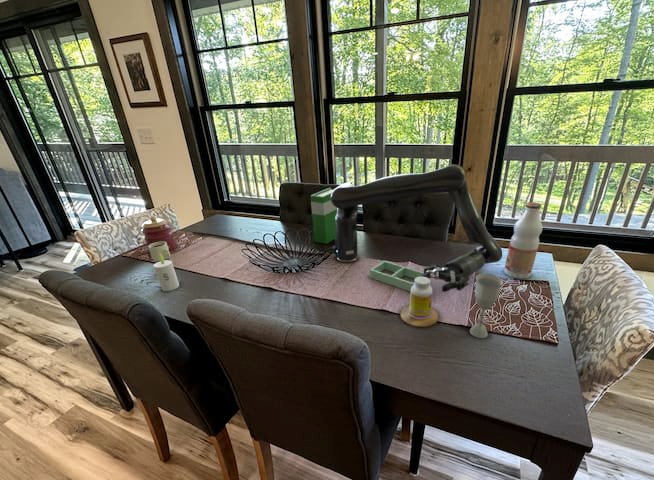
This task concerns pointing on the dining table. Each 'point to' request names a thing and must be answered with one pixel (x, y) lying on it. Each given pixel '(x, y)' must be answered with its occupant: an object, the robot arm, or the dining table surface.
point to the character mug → (157, 248)
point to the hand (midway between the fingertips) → (431, 283)
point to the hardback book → (323, 216)
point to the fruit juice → (524, 243)
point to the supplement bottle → (421, 298)
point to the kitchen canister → (158, 232)
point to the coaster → (415, 322)
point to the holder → (394, 275)
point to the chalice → (485, 299)
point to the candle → (166, 274)
